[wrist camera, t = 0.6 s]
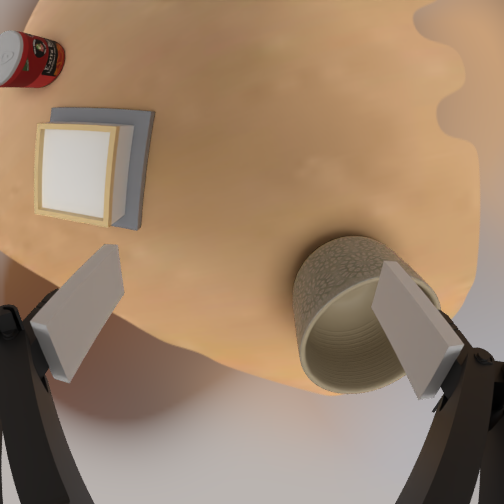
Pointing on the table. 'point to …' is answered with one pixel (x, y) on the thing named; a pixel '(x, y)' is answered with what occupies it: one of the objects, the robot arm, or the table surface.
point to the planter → (346, 316)
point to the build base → (92, 165)
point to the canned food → (28, 60)
